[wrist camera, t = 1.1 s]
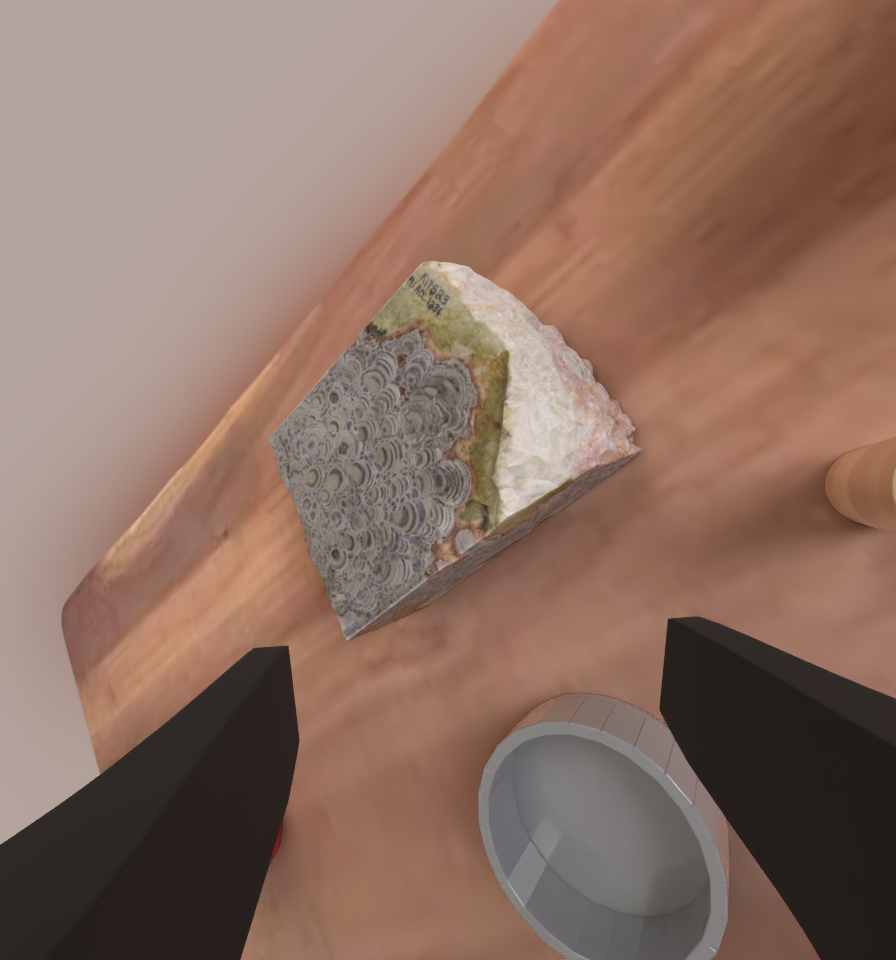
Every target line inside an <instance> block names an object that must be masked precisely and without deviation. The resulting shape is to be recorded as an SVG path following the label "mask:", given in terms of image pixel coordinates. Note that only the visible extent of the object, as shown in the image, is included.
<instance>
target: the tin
mask: <svg viewBox="0 0 896 960" xmlns="http://www.w3.org/2000/svg"><path fill="white" fill-rule="evenodd" d="M478 821H479V827H480V831H481V835H482V840H483V844H484V849H485V852H486V855H487V857H488V860H489V862H490V864H491V867H492V869H493V871H494V874H495V876H496V878H497V881H498V883H499V885H500V886H501V888H502V890H503V891H504V893H505V894H506V896H507V897H508V899H509V900H510V902H511V903H512V905H513V907H514V908H515V910H516V911H517V913H519V915H520V917H521V918H522V919H523V920H524V921H525V922H526V923H527V924H528V925H529V927H530V928H531V929H532V930H533V931H534V932H535V933H536V934H537V935H538V936H539V938H540V939H541V940H542V941H543V940H544V942H545V943H546V944H547V945H548V946H550V947H551V948H552V949H554V950H555V951H556V952H557V953H559V954H560V955H561V956H562V957H564V958H565V959H566V960H711V959H712V958H713V957H714V955H715V954H716V953H717V951H718V950H719V946H720V943H721V940H722V937H723V934H724V931H725V928H726V925H727V921H728V899H729V835H728V826H727V822H726V817H725V816H724V814H723V813H722V812H721V810H720V809H719V807H718V806H717V804H716V803H715V802H714V800H713V799H712V797H711V796H710V794H709V793H708V791H707V790H706V788H705V787H704V786H703V784H702V783H701V781H700V780H699V778H698V777H697V775H696V774H695V772H694V771H693V770H692V768H691V767H690V765H689V764H688V762H687V760H686V759H685V757H684V755H683V753H682V751H681V750H680V748H679V746H678V744H677V742H676V741H675V739H674V737H673V735H672V733H671V731H670V730H669V729H668V728H667V727H666V726H665V725H663V724H662V723H661V722H659V721H658V720H656V719H655V718H653V717H652V716H650V715H649V714H648V713H646V712H644V711H642V710H640V709H638V708H636V707H635V706H633V705H630V704H628V703H625V702H623V701H620V700H618V699H614V698H610V697H607V696H603V695H596V694H588V693H575V694H567V695H562V696H558V697H555V698H552V699H550V700H548V701H545V702H543V703H541V704H540V705H539V706H537V707H536V708H534V709H533V710H532V711H531V712H530V713H529V714H528V715H527V716H525V717H524V718H523V719H522V720H521V721H520V722H519V723H518V724H517V725H516V726H515V727H514V728H513V729H512V730H511V732H510V733H509V734H508V735H507V736H506V737H505V738H504V739H503V740H502V741H501V742H500V743H499V744H498V746H497V747H496V748H495V750H494V752H493V753H492V755H491V757H490V758H489V760H488V762H487V763H486V765H485V768H484V770H483V774H482V778H481V783H480V787H479V791H478Z"/></svg>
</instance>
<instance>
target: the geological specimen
mask: <svg viewBox="0 0 896 960" xmlns="http://www.w3.org/2000/svg"><path fill="white" fill-rule="evenodd" d="M635 430H636V428H635V427H634V426H633V424H632V422H631V419H630V418H629V417H628V416H627V415H626V414H624V413H623V412H622V409H621V407H620V405H619V402H618V401H617V400H614V399H611V398H609V395H608V392H607V391H606V389H605V388H604V387H603V386H602V385H601V384H600V383H599V382H596V380H595V379H594V377H593V365H592V364H591V362H590V361H589V360H587V359H581V358H580V357H579V356H578V355H577V353H576V352H575V351H574V350H573V349H571V348H570V347H568V346H567V345H566V343H565V342H564V340H563V337H562V334H561V333H560V332H559V331H558V330H557V329H556V328H555V327H554V325H543V324H542V323H541V322H540V321H539V320H538V319H537V317H536V316H535V315H534V314H533V313H532V312H531V311H530V310H528V309H527V308H526V306H525V305H524V304H523V303H522V302H521V301H519V300H518V299H517V298H516V297H515V296H514V295H513V294H512V293H511V292H509V291H506V290H504V289H502V288H499V287H497V286H496V285H495V284H494V283H493V282H491V281H490V280H488V279H486V278H484V277H482V276H480V275H478V274H476V273H474V272H473V271H472V269H471V268H470V267H468V266H463V265H458V264H454V263H450V262H436V261H429V262H423V263H422V264H421V265H420V266H419V267H418V268H417V269H416V270H415V271H414V272H413V273H412V275H411V276H410V277H409V278H408V279H407V281H406V282H405V283H404V284H403V285H402V286H401V287H400V289H399V290H398V291H397V292H396V293H395V294H394V295H393V296H392V297H391V299H390V300H389V301H388V302H387V303H386V304H385V305H384V306H383V308H382V309H381V310H380V311H379V312H378V313H377V314H376V316H375V317H374V318H373V319H372V320H371V321H370V322H369V324H368V325H367V326H366V327H365V328H364V329H363V331H362V332H361V333H360V334H359V335H358V336H357V338H356V340H355V342H354V344H353V345H351V346H350V347H349V348H347V349H346V351H345V352H344V353H343V354H342V355H341V356H340V357H339V358H338V359H337V361H336V362H335V363H334V364H333V365H332V366H331V368H330V369H329V370H328V371H327V372H326V374H325V375H324V376H323V377H322V378H321V379H320V381H319V382H318V383H317V384H316V385H315V386H314V388H313V389H312V390H311V391H310V392H309V393H308V394H307V396H306V397H305V398H304V399H303V400H302V401H301V402H300V404H299V405H298V406H297V407H296V408H295V409H294V411H293V412H292V413H291V414H290V415H289V416H288V417H287V418H286V420H285V421H284V422H283V423H282V424H281V425H280V426H279V427H278V429H277V430H276V431H275V432H274V434H273V435H272V436H271V437H270V439H269V442H270V444H271V446H272V448H273V450H274V454H275V460H276V462H277V468H278V474H279V476H280V478H281V480H282V481H283V483H284V484H285V486H286V487H287V489H288V491H289V492H290V493H291V495H292V499H293V503H294V504H295V506H296V508H297V510H298V514H299V517H300V520H301V523H302V531H303V533H304V534H305V540H306V542H307V543H308V544H309V552H310V555H311V556H312V560H313V565H314V566H315V567H316V568H317V569H318V571H319V572H320V574H321V577H322V578H323V580H324V581H325V584H326V588H327V595H328V598H329V600H330V603H331V605H332V608H333V610H334V612H335V614H336V616H337V618H338V620H339V623H340V626H341V629H342V633H343V635H344V637H345V640H346V641H350V640H352V639H354V638H356V637H358V636H360V635H363V634H365V633H367V632H370V631H374V630H377V629H379V628H381V627H383V626H385V625H387V624H389V623H391V622H395V621H397V620H399V619H401V618H403V617H406V616H408V615H410V614H412V613H414V612H417V611H419V610H421V609H423V608H425V607H427V606H429V605H430V604H431V603H433V602H434V601H435V600H437V599H438V598H440V597H441V596H442V595H444V594H445V593H447V592H448V591H449V590H450V589H452V588H453V587H454V586H455V585H457V584H458V583H460V582H462V581H463V580H465V579H466V578H468V577H469V576H471V575H472V574H473V573H475V572H476V571H477V570H479V569H480V568H481V567H482V566H483V565H485V564H486V563H488V562H489V561H490V560H492V559H493V558H495V557H496V556H497V555H498V554H499V553H500V552H502V551H503V550H504V549H506V548H508V547H510V546H511V545H513V544H514V543H516V542H517V541H518V540H519V539H520V538H522V537H524V536H525V535H527V534H528V533H530V532H531V531H533V529H534V528H535V527H536V525H538V524H539V523H540V522H541V521H542V520H544V519H546V518H549V517H551V516H553V515H555V514H557V513H558V512H560V511H561V510H562V509H564V508H565V507H567V506H568V505H569V504H571V503H572V502H574V501H575V500H576V499H578V498H579V497H581V496H582V495H583V494H585V493H586V492H588V491H589V490H590V489H592V488H593V487H595V486H596V485H597V484H599V483H600V482H601V481H603V480H604V479H606V478H607V477H609V476H610V475H611V474H613V473H614V472H616V471H617V470H618V469H620V468H621V467H623V466H624V465H625V464H627V463H628V462H629V461H630V460H632V459H633V458H634V457H635V456H637V455H638V454H639V453H641V452H642V451H643V449H642V448H641V447H639V446H636V445H635V444H634V440H633V434H634V432H635Z"/></svg>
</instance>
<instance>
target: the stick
mask: <svg viewBox="0 0 896 960" xmlns="http://www.w3.org/2000/svg"><path fill="white" fill-rule="evenodd" d="M825 492H826V496H827V498H828V500H829V502H830V503H831V505H832V506H833V507H834V508H835V509H836V510H837V511H838V512H839V513H840V514H842V515H843V516H845V517H846V518H848V519H850V520H853V521H855V522H858V523H861V524H865V525H868V526H871V527H874V528H877V529H880V530H883V531H886V532H890V533H893V534H896V437H895V438H891V439H888V440H885V441H881V442H878V443H875V444H872V445H868V446H865V447H862V448H859V449H855V450H853V451H850V452H848V453H846V454H844V455H843V456H841V457H840V458H839V459H837V460H836V461H835V462H834V463H833V465H832V466H831V467H830V469H829V471H828V473H827V475H826V479H825Z"/></svg>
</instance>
